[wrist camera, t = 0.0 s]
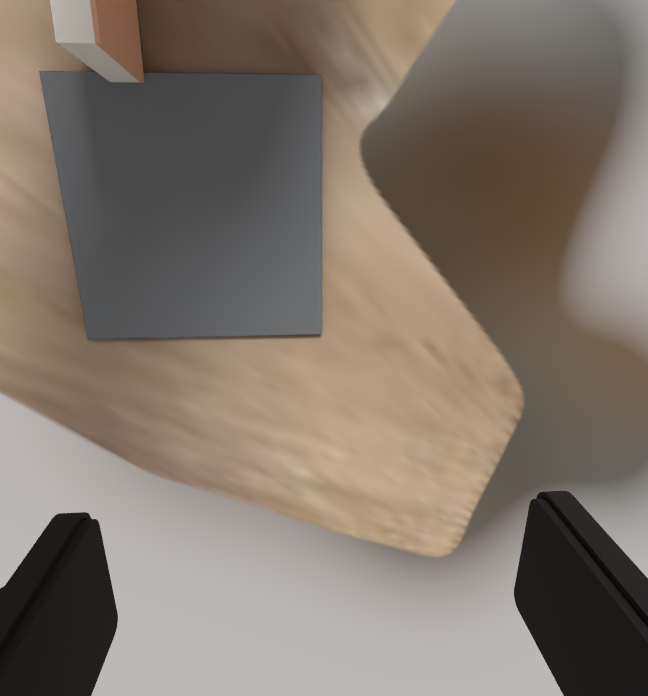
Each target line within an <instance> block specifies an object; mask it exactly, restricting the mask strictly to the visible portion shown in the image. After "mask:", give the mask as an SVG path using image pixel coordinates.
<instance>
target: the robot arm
mask: <svg viewBox="0 0 648 696" xmlns="http://www.w3.org/2000/svg"><path fill="white" fill-rule="evenodd" d="M514 597H515V602H516V606H517V608H518V610H519V612H520V614H521V616H522V618H523V620H524V622H525V624H526V625H527V627H528V629H529V631H530V633H531V635H532V637H533V639H534V640H535V642H536V644H537V646H538V648H539V650H540V652H541V654H542V655H543V657H544V659H545V661H546V663H547V665H548V667H549V669H550V670H551V672H552V674H553V676H554V678H555V680H556V682H557V684H558V686H559V687H560V689H561V691H562V693H563V695H564V696H648V578H647V577H646V576H645V575H644V574H643V573H642V572H641V571H640V570H639V568H638V567H637V566H636V565H635V564H634V563H633V562H632V561H631V560H630V558H629V557H628V556H627V555H626V554H625V553H624V552H623V551H622V550H621V548H620V547H619V546H618V545H617V544H616V543H615V542H614V541H613V540H612V538H611V537H610V536H609V535H608V534H607V533H606V532H605V531H604V530H603V528H602V527H601V526H600V525H599V524H598V523H597V522H596V521H595V520H594V518H593V517H592V516H591V515H590V514H589V513H588V512H587V511H586V510H585V509H584V508H583V506H582V505H581V504H580V503H579V502H578V501H577V499H576V498H575V497H574V496H573V495H572V494H571V493H569V492H567V491H550V492H540V493H539V494H538V495H537V498H536V499H533V500H532V501H531V502H530V506H529V511H528V517H527V522H526V528H525V533H524V539H523V544H522V550H521V555H520V561H519V567H518V572H517V578H516V583H515V588H514ZM117 621H118V615H117V609H116V605H115V599H114V595H113V589H112V585H111V580H110V575H109V570H108V565H107V560H106V556H105V550H104V545H103V540H102V535H101V531H100V526H99V522H98V521H97V520H96V519H91V518H90V515H89V514H88V513H85V512H84V513H63V514H57V515H55V516H54V518H53V519H52V520H51V521H50V523H49V524H48V526H47V527H46V529H45V530H44V531H43V533H42V534H41V536H40V537H39V538H38V540H37V541H36V543H35V544H34V545H33V547H32V548H31V550H30V551H29V553H28V554H27V556H26V557H25V558H24V560H23V561H22V563H21V564H20V565H19V567H18V568H17V570H16V571H15V572H14V574H13V575H12V577H11V578H10V580H9V581H8V583H7V584H6V585H5V586H4V587H3V588H1V589H0V696H91V695H92V692H93V689H94V687H95V684H96V682H97V679H98V676H99V674H100V671H101V669H102V666H103V663H104V661H105V658H106V656H107V653H108V650H109V648H110V645H111V643H112V640H113V638H114V635H115V632H116V628H117Z"/></svg>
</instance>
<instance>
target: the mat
mask: <svg viewBox="0 0 648 696" xmlns="http://www.w3.org/2000/svg"><path fill="white" fill-rule="evenodd" d="M39 72H40V78H41V83H42V89H43V94H44V100H45V105H46V111H47V116H48V122H49V127H50V133H51V138H52V144H53V149H54V154H55V160H56V165H57V171H58V176H59V182H60V187H61V193H62V198H63V204H64V209H65V215H66V220H67V226H68V231H69V237H70V242H71V248H72V253H73V259H74V264H75V270H76V275H77V280H78V286H79V291H80V297H81V302H82V308H83V313H84V319H85V324H86V330H87V335H88V339H115V338H161V337H207V336H253V335H299V334H322V75H275V74H205V73H144V83H135V82H109V81H108V80H107V79H105V78H104V77H102V76H101V75H100V74H98V73H97V72H64V71H39Z"/></svg>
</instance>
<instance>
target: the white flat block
mask: <svg viewBox="0 0 648 696" xmlns="http://www.w3.org/2000/svg"><path fill="white" fill-rule="evenodd" d="M50 4H51V11H52V18H53V25H54V32H55V39H56V43H57V44H59V45H60V46H61V47H63V48H64V49H66V50H67V51H68V52H70V53H71V54H72V55H74V56H75V57H76V58H78V59H79V60H81V61H82V62H83V63H85V64H86V65H87V66H89V67H90V68H92V69H93V70H94V71H96V72H97V73H98V74H100V75H101V76H102V77H104V78H105V79H107V80H108V81H109V82H135V83H144V73H143V63H142V53H141V43H140V33H139V23H138V14H137V4H136V0H50Z"/></svg>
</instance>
